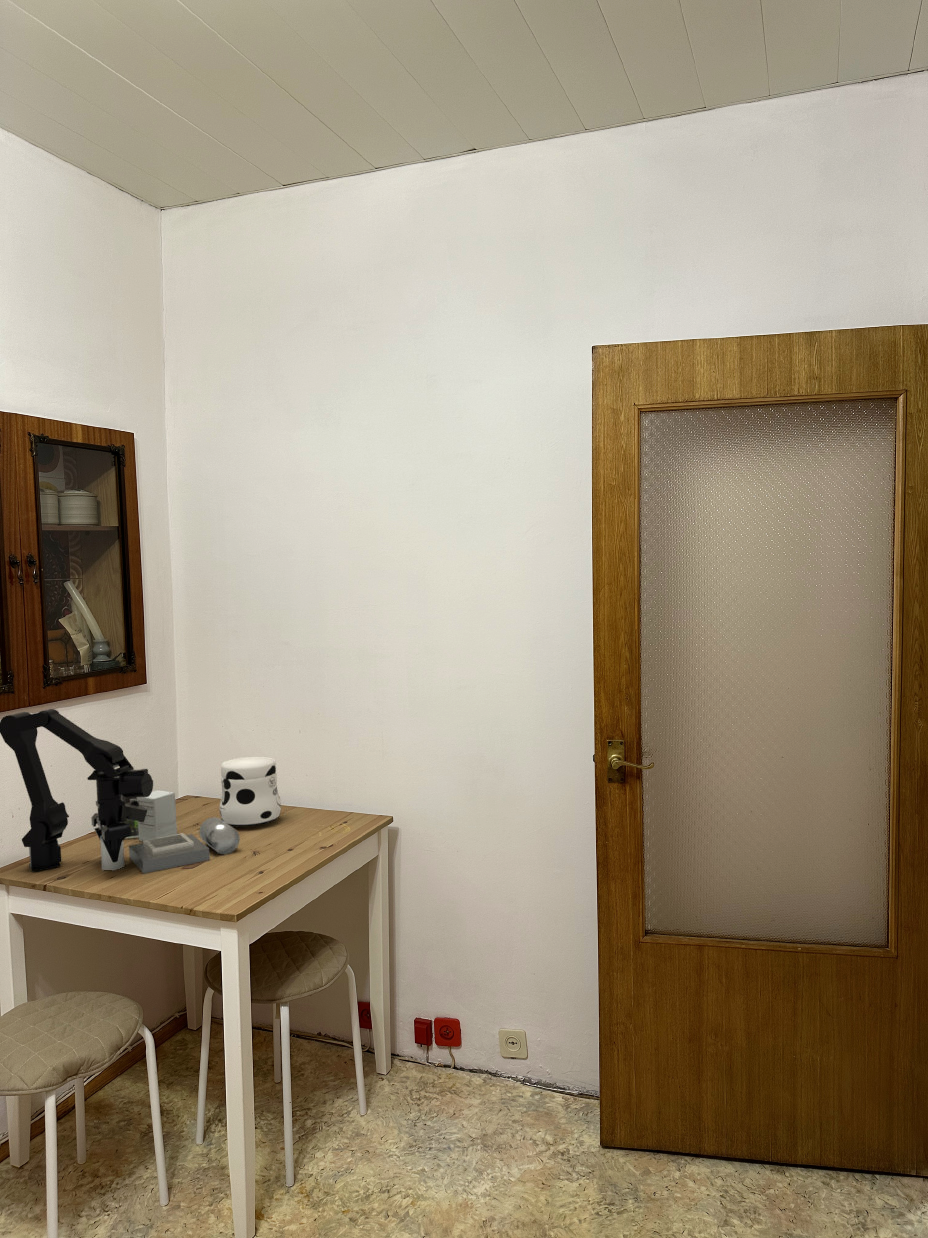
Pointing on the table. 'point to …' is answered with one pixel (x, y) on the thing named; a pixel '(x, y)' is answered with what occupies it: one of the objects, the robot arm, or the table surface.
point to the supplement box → (158, 815)
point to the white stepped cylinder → (106, 859)
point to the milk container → (249, 792)
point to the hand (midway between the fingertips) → (112, 859)
